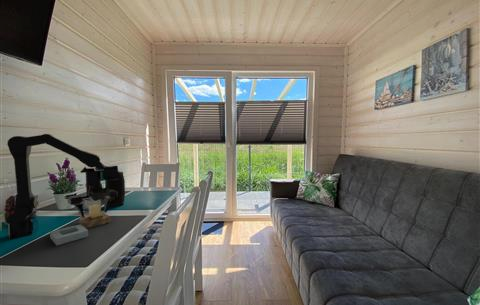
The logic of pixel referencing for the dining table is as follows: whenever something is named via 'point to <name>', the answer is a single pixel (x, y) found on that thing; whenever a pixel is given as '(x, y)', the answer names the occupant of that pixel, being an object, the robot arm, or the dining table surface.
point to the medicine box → (91, 203)
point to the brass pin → (94, 211)
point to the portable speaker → (120, 188)
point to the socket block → (68, 234)
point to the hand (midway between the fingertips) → (94, 214)
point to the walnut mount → (94, 220)
